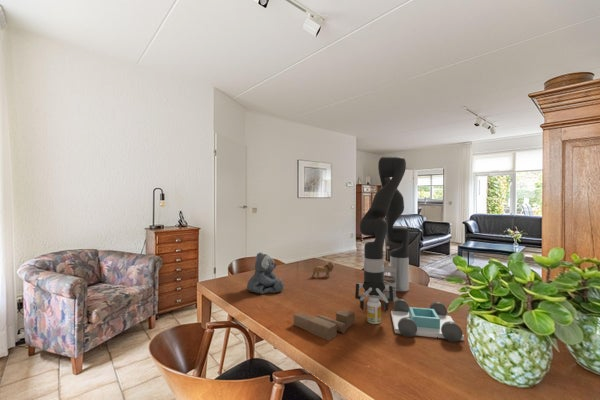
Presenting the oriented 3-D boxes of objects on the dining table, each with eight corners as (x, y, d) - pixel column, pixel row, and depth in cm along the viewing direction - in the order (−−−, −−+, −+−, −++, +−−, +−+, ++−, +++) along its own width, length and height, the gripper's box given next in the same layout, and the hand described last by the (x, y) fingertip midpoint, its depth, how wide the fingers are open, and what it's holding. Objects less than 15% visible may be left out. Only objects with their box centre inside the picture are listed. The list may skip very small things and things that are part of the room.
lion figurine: (332, 274, 170) (332, 260, 170) (335, 277, 165) (335, 262, 165) (310, 276, 167) (310, 262, 167) (312, 279, 161) (312, 264, 161)
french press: (401, 301, 125) (401, 248, 124) (375, 301, 125) (375, 248, 124) (394, 293, 135) (394, 244, 134) (371, 293, 135) (371, 244, 134)
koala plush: (285, 292, 138) (284, 254, 138) (250, 297, 132) (250, 257, 132) (275, 283, 154) (275, 249, 154) (244, 287, 148) (243, 251, 148)
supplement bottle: (378, 317, 108) (378, 293, 108) (383, 324, 103) (383, 298, 102) (365, 318, 108) (365, 294, 108) (369, 324, 102) (369, 299, 102)
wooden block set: (331, 326, 90) (292, 311, 102) (331, 343, 90) (292, 326, 102) (356, 310, 103) (319, 299, 115) (357, 325, 103) (319, 312, 115)
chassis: (390, 312, 113) (390, 298, 113) (448, 317, 108) (448, 302, 108) (395, 335, 94) (395, 318, 94) (466, 343, 88) (466, 325, 88)
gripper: (392, 267, 107) (392, 308, 107) (355, 265, 110) (355, 305, 110) (393, 272, 100) (394, 316, 100) (354, 270, 103) (355, 312, 103)
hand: (374, 310), depth 105 cm, fingers open, 8 cm apart
